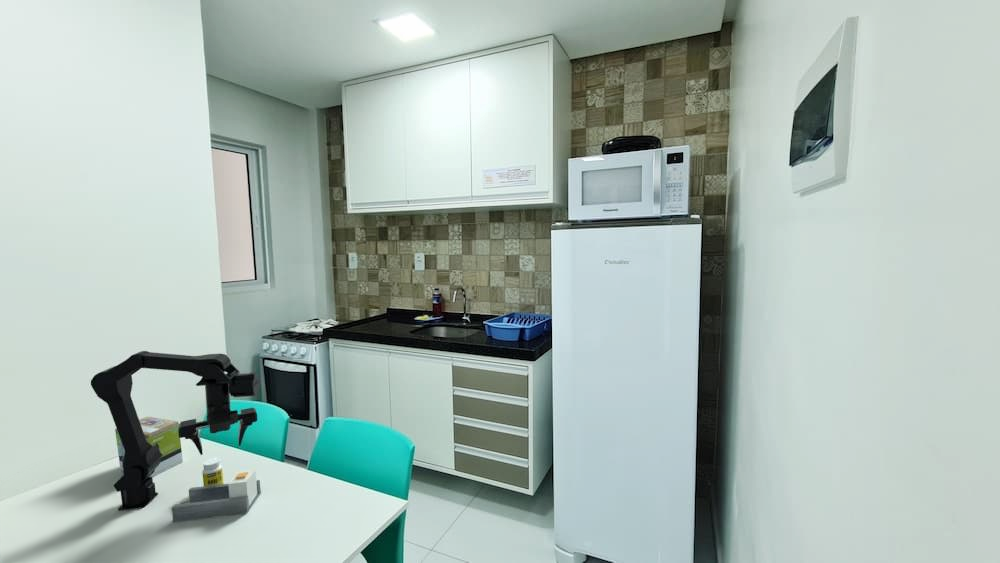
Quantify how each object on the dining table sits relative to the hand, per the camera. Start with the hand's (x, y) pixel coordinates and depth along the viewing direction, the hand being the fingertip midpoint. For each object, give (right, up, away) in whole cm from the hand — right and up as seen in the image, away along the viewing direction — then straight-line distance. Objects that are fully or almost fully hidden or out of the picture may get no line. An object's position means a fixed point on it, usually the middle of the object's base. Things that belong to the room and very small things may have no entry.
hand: (221, 449), depth 121 cm
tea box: (-33, -12, +15) cm, 38 cm away
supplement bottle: (-3, -13, +2) cm, 13 cm away
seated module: (+11, -13, -6) cm, 18 cm away
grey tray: (+4, -13, -7) cm, 15 cm away
